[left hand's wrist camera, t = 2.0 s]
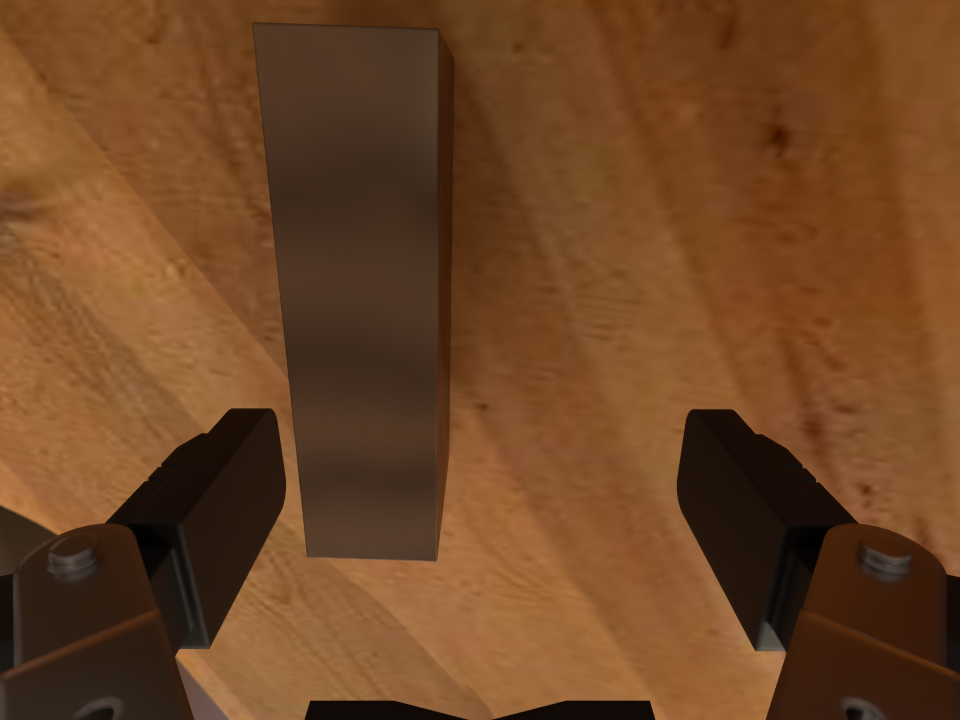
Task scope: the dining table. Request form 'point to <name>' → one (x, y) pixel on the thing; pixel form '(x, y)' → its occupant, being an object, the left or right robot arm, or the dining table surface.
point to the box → (363, 275)
